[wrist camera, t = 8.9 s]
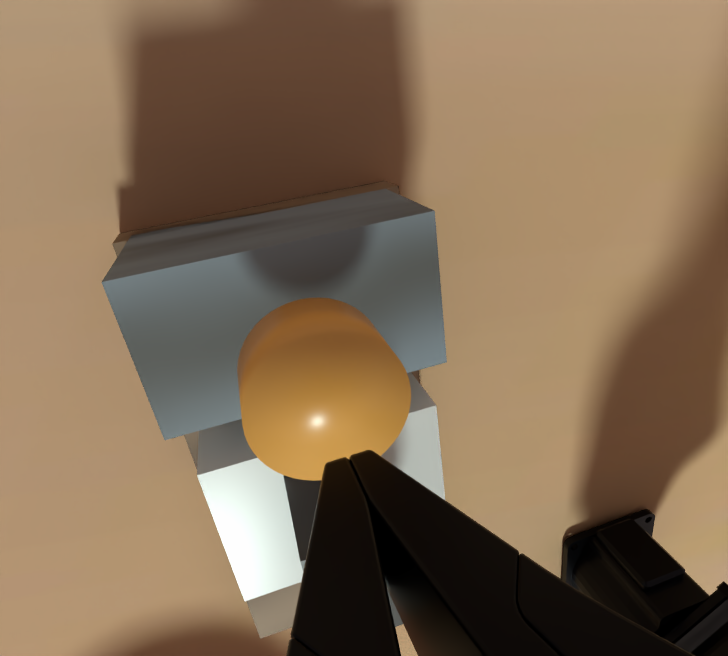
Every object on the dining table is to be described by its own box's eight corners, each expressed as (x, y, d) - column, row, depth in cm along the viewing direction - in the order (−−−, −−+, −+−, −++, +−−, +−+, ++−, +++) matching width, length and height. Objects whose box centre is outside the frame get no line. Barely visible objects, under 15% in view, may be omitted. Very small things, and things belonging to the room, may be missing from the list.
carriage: (410, 463, 23) (492, 610, 16) (238, 517, 22) (251, 703, 15) (395, 352, 21) (486, 471, 14) (199, 404, 19) (193, 567, 12)
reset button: (390, 407, 13) (418, 452, 12) (257, 445, 13) (264, 500, 11) (372, 282, 12) (401, 312, 10) (219, 318, 11) (220, 357, 9)
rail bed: (430, 551, 29) (480, 652, 23) (257, 612, 27) (269, 736, 21) (385, 181, 19) (450, 207, 14) (119, 233, 18) (80, 286, 12)
